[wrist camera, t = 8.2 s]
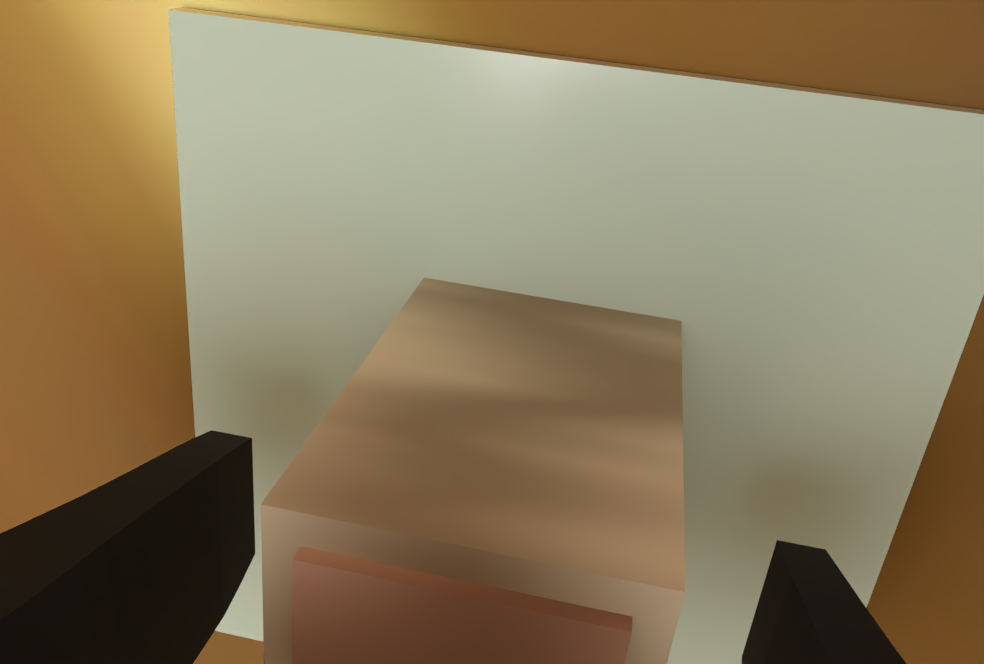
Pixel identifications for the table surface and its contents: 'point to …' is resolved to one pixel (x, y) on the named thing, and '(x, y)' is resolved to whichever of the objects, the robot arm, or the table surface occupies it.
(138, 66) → the table surface
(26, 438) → the table surface
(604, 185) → the sage tile
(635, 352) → the birch block
